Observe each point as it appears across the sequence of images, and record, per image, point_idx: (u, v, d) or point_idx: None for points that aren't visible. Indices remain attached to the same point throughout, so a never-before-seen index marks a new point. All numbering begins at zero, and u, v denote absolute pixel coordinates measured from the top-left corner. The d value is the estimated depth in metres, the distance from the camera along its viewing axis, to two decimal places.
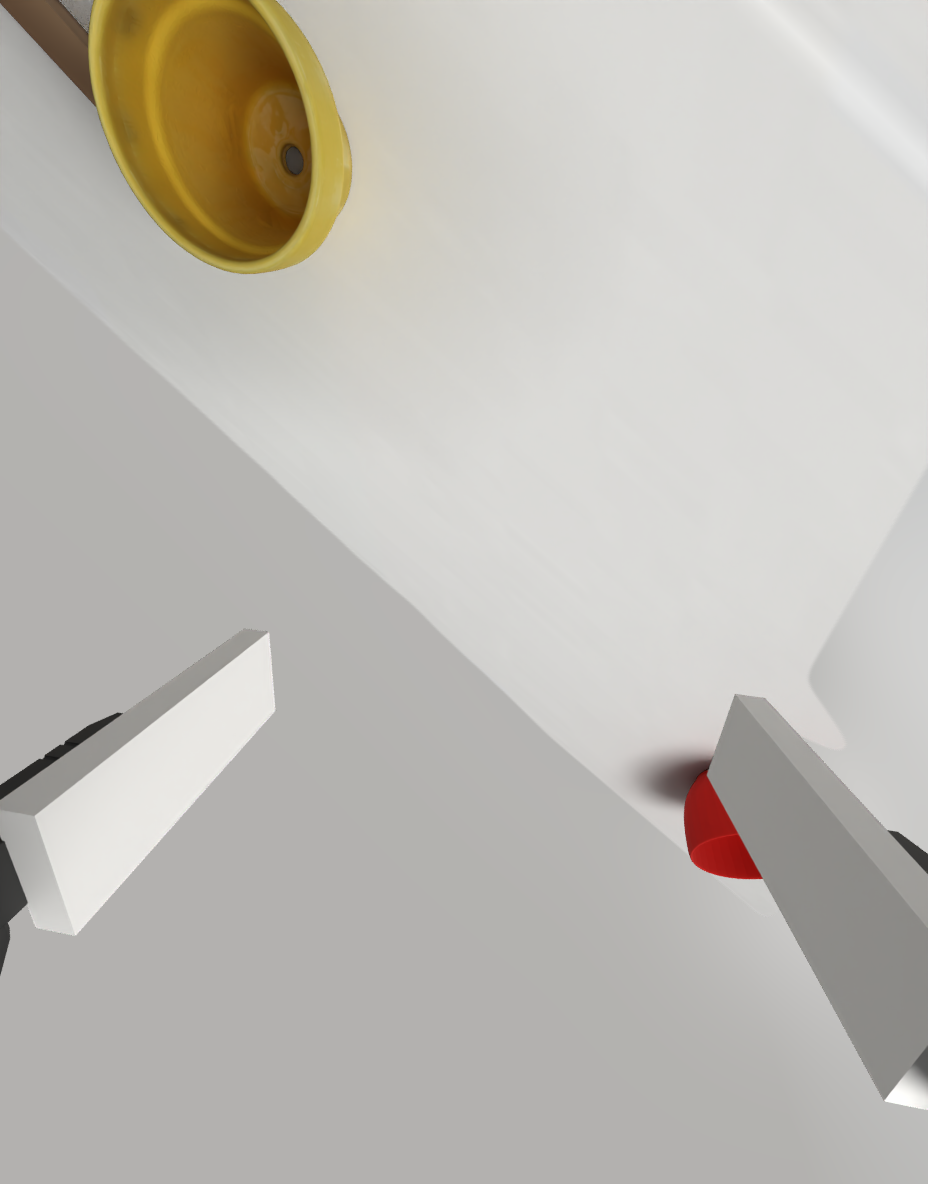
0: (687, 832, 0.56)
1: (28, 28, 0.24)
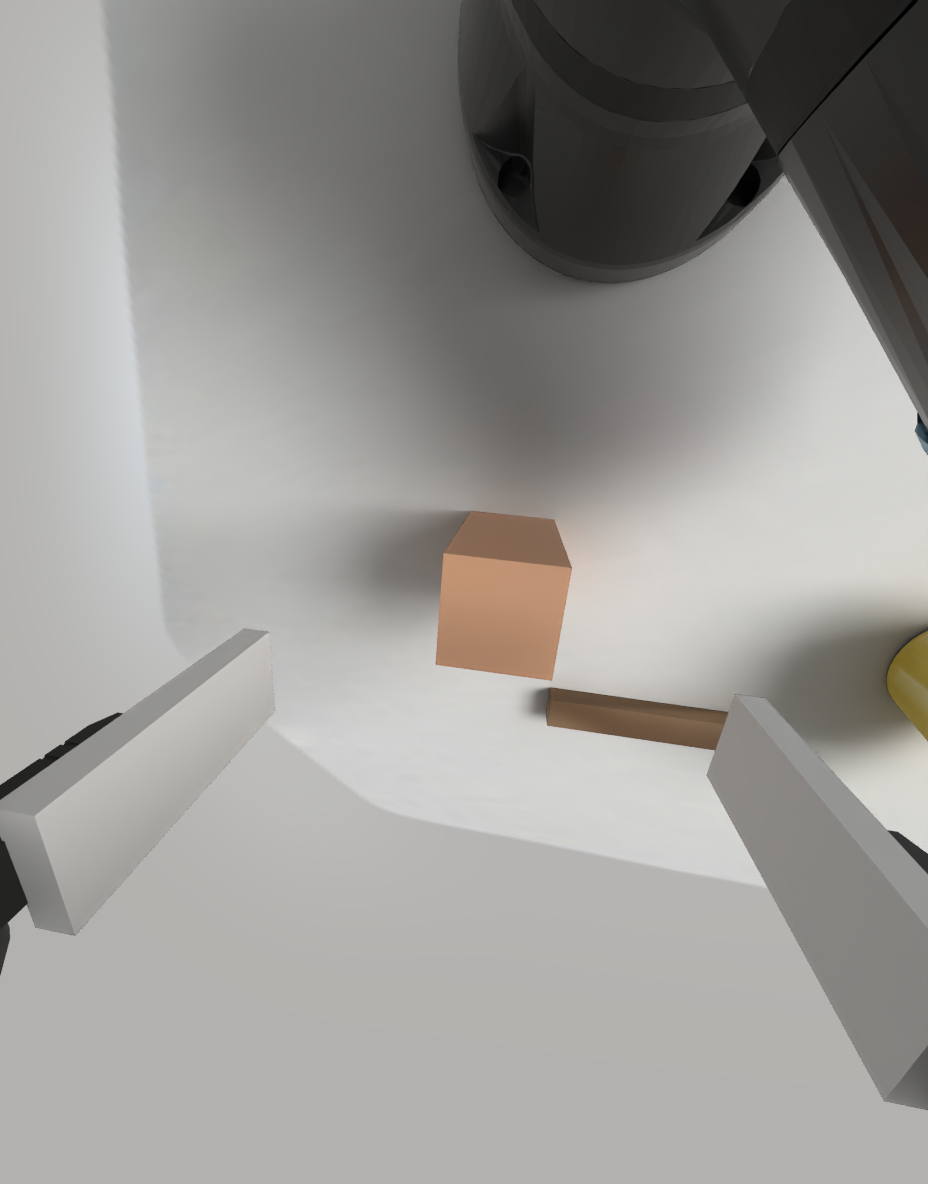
0: None
1: (702, 745, 0.28)
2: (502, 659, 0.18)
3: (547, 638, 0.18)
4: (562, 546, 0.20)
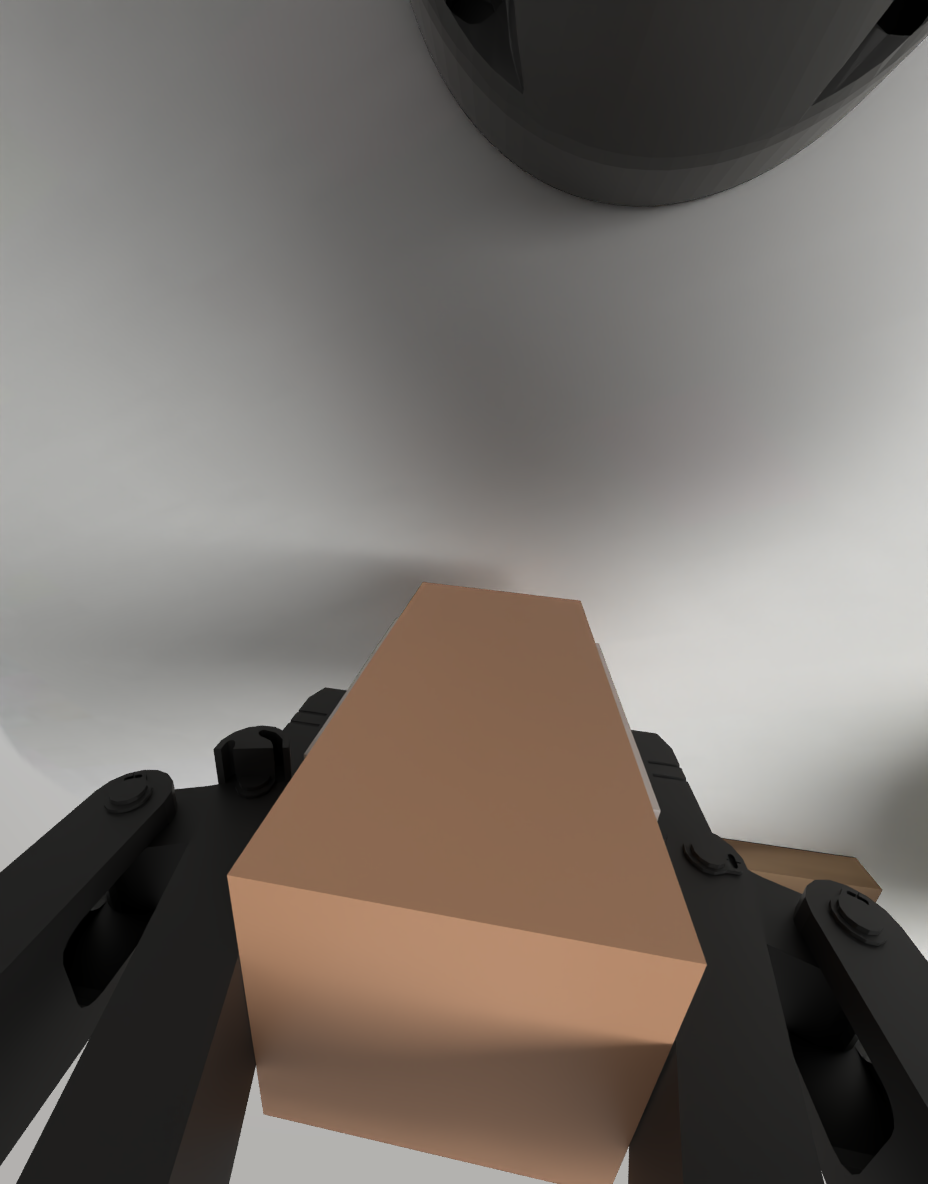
0: None
1: None
2: (455, 1134, 0.06)
3: (599, 1115, 0.05)
4: (624, 738, 0.07)
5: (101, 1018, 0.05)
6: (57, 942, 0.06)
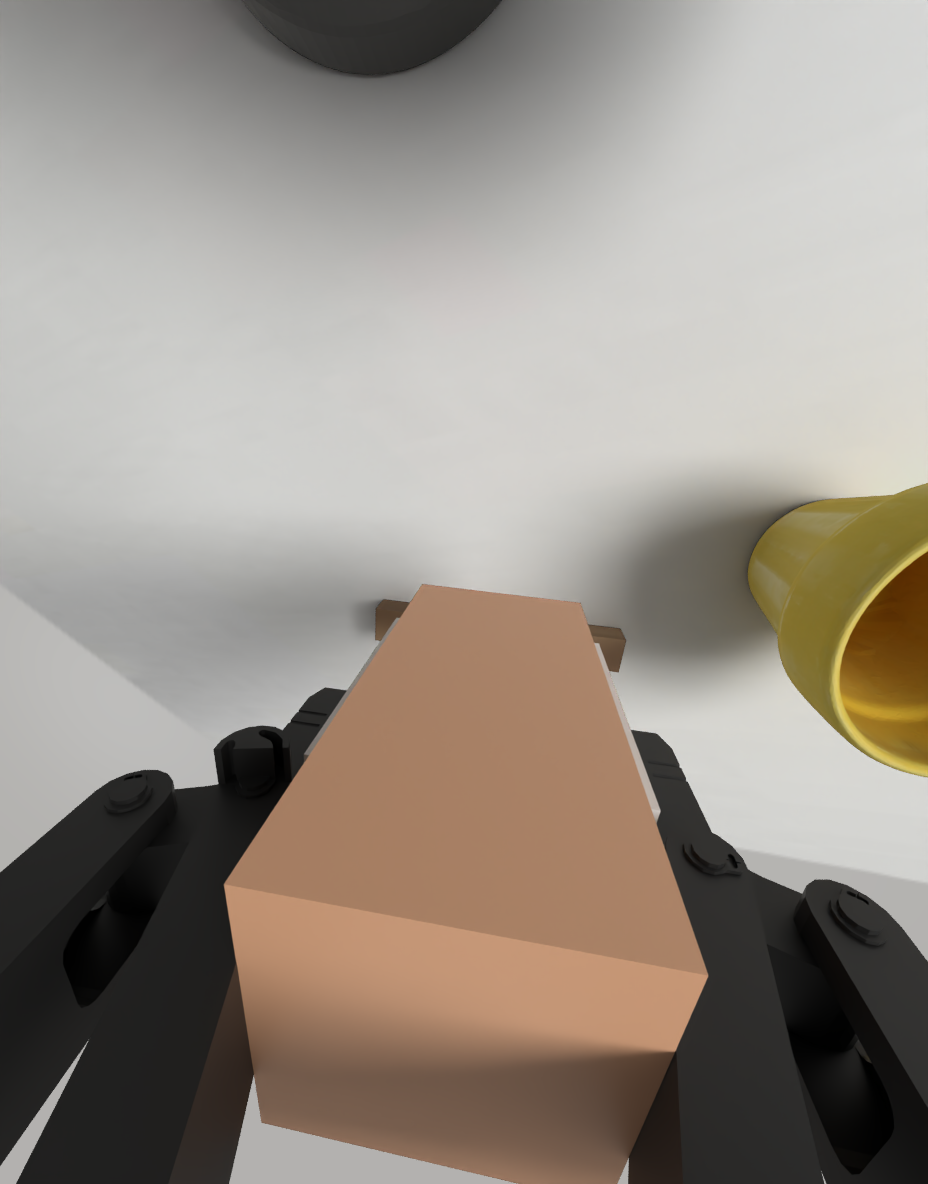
0: None
1: None
2: (454, 1143, 0.06)
3: (599, 1126, 0.05)
4: (624, 743, 0.07)
5: (101, 1018, 0.05)
6: (57, 943, 0.06)
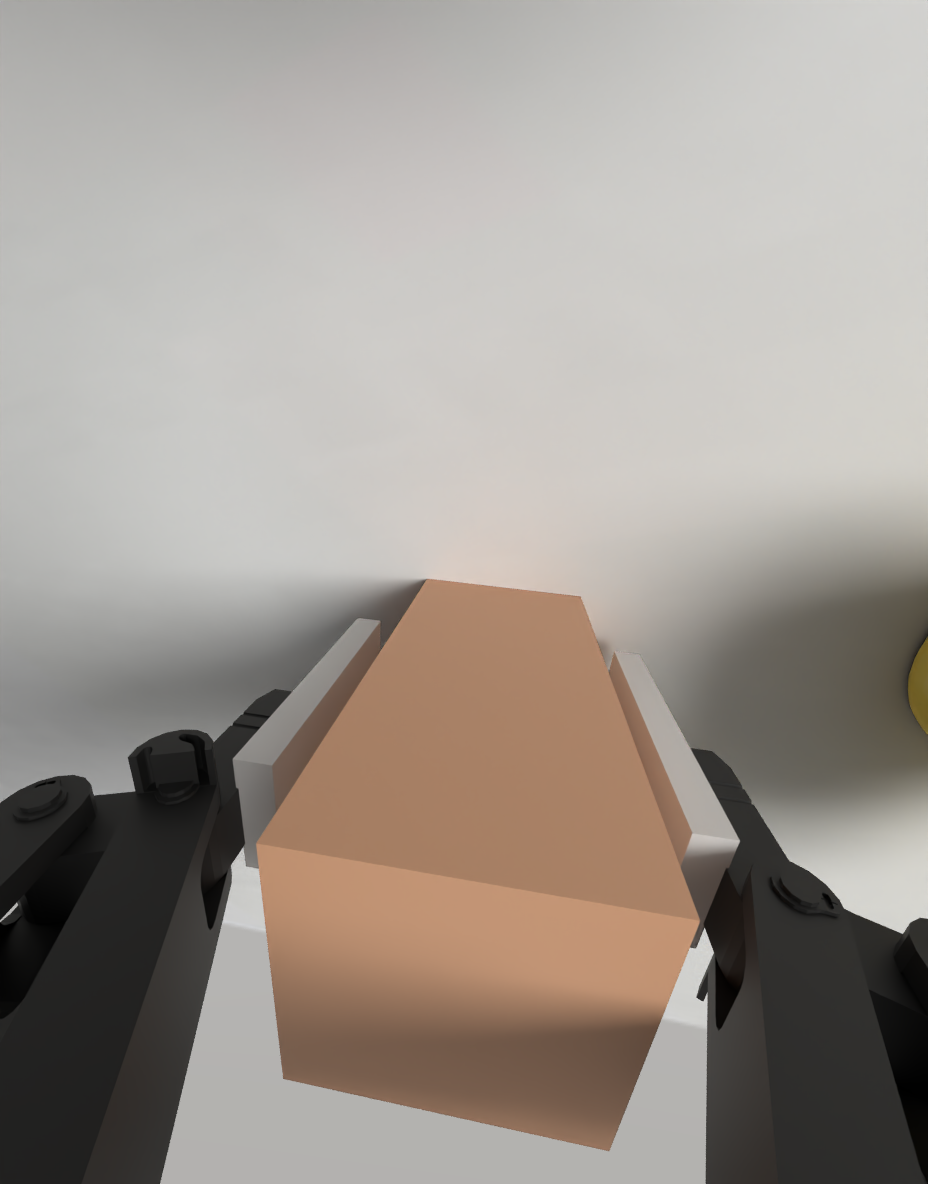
0: None
1: None
2: (466, 1093, 0.06)
3: (601, 1071, 0.06)
4: (624, 723, 0.08)
5: (1, 1044, 0.04)
6: None
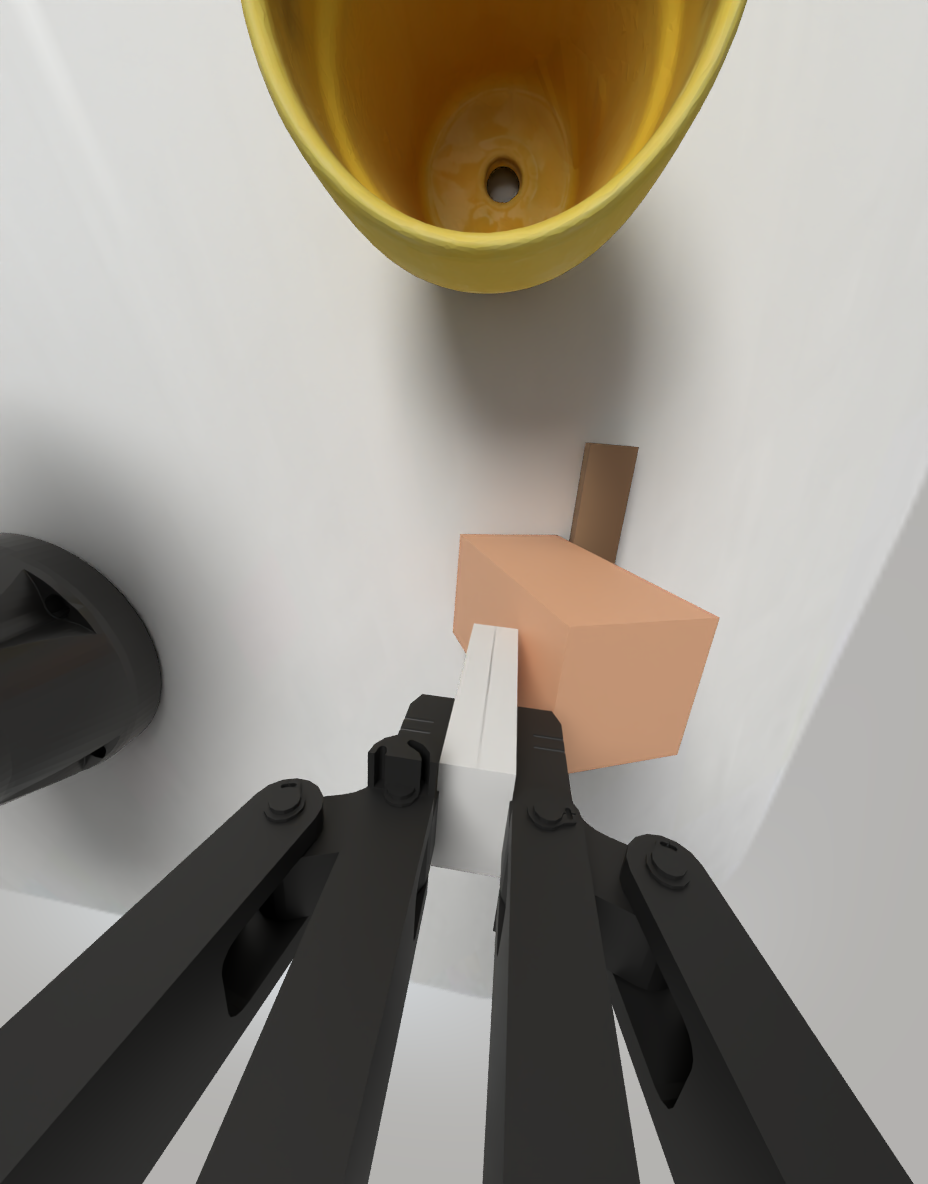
0: None
1: (614, 539, 0.20)
2: (681, 683, 0.13)
3: (662, 636, 0.12)
4: (517, 584, 0.14)
5: (272, 1007, 0.05)
6: (219, 952, 0.06)
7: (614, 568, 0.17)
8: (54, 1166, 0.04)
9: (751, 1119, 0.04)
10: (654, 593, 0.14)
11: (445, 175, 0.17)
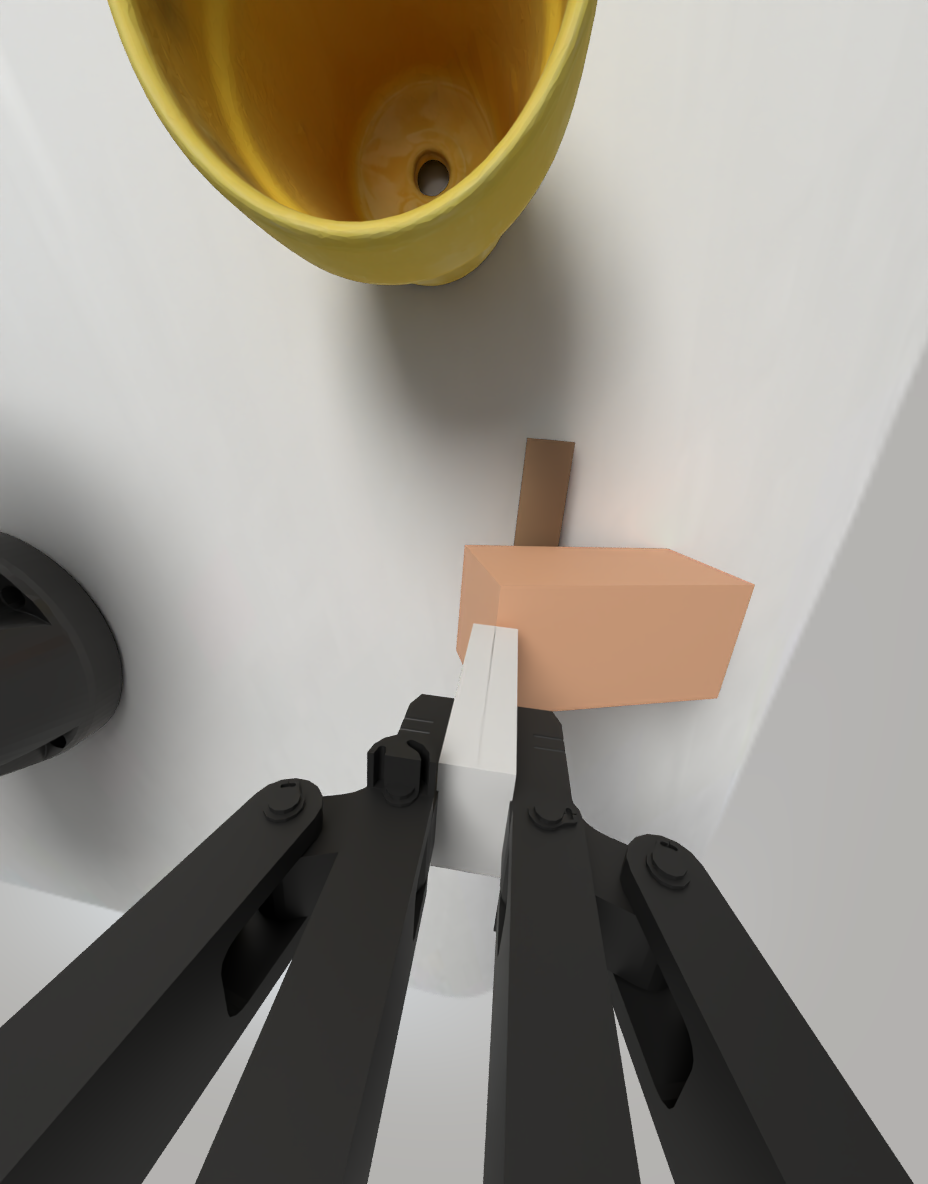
0: None
1: (555, 535, 0.20)
2: None
3: None
4: (677, 586, 0.16)
5: (272, 1007, 0.05)
6: (219, 953, 0.06)
7: (582, 549, 0.19)
8: (53, 1166, 0.04)
9: (751, 1119, 0.04)
10: (638, 552, 0.20)
11: (374, 169, 0.17)
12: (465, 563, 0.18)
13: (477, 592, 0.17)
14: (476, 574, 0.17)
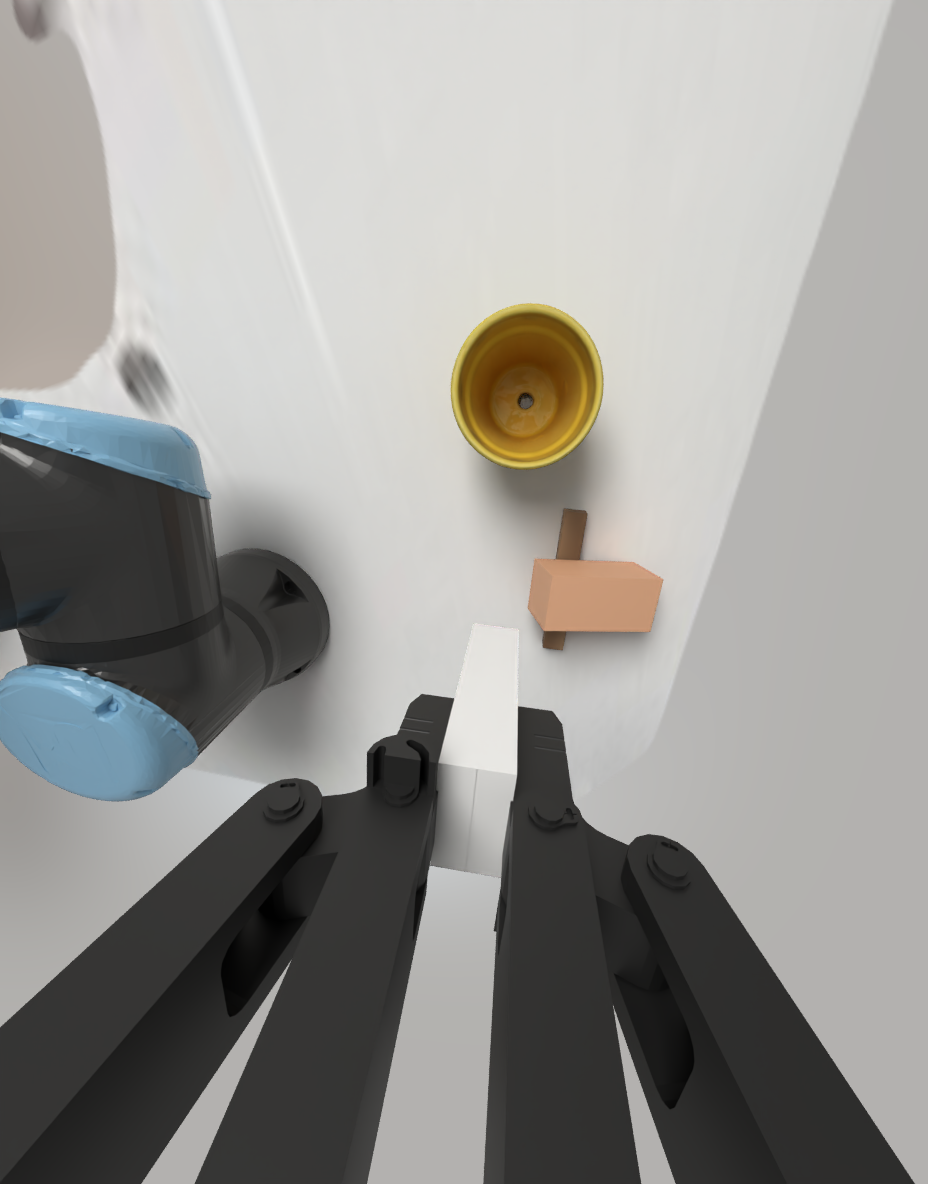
0: None
1: (577, 556, 0.41)
2: None
3: None
4: (626, 579, 0.37)
5: (272, 1007, 0.05)
6: (219, 953, 0.06)
7: (590, 561, 0.41)
8: (53, 1166, 0.04)
9: (752, 1119, 0.04)
10: (617, 563, 0.41)
11: (500, 397, 0.38)
12: (534, 567, 0.41)
13: (541, 579, 0.39)
14: (541, 571, 0.39)
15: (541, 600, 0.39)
